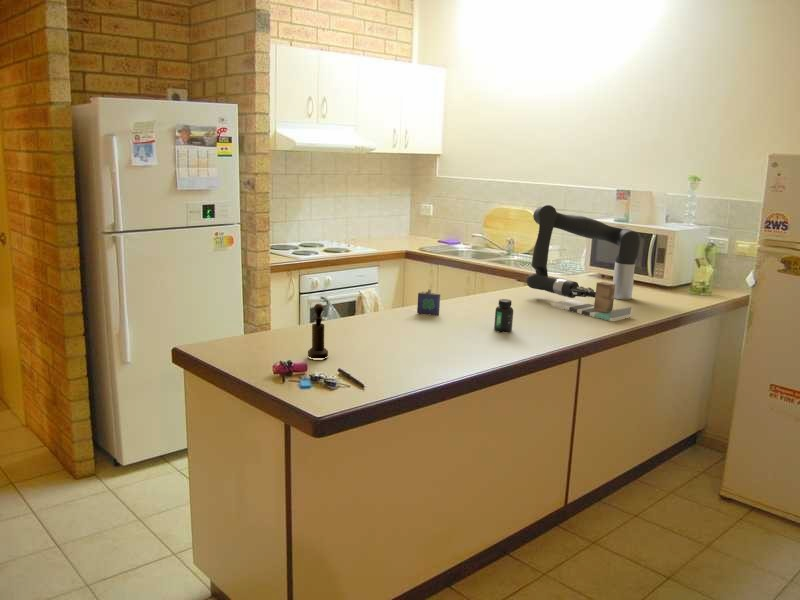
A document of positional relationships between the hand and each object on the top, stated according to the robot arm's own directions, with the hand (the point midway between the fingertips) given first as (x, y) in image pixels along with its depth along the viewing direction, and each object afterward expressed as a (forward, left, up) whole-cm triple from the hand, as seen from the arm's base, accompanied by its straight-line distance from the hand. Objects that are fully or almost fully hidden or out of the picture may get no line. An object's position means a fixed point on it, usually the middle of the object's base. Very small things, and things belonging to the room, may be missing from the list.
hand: (598, 295), depth 300 cm
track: (0, -4, -8) cm, 9 cm away
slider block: (0, +3, -6) cm, 7 cm away
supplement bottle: (+58, -3, -8) cm, 59 cm away
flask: (+66, -37, -8) cm, 76 cm away
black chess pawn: (+137, -13, -8) cm, 138 cm away
